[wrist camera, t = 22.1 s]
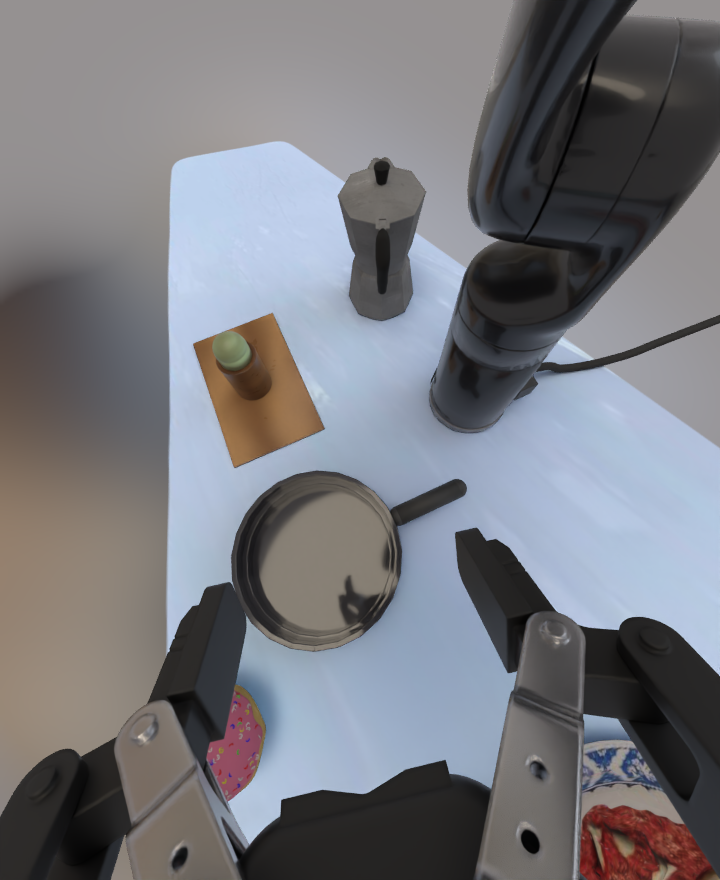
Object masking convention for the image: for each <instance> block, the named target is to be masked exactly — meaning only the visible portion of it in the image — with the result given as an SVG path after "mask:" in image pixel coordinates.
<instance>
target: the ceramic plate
mask: <svg viewBox="0 0 720 880" xmlns="http://www.w3.org/2000/svg"><path fill="white" fill-rule="evenodd" d="M580 873H581V874H582V875H583V876H584V877H585V878H586V879H587V880H720V879H719V877H718V876H717V874H716V872H715V871H714V869H713V868H712V866H711V865H710V863H709V861H708V860H707V858H706V857H705V855H704V854H703V852H702V850H701V849H700V847H699V846H698V844H697V843H696V841H695V839H694V838H693V836H692V835H691V833H690V832H689V830H688V828H687V827H686V825H685V824H684V822H683V821H682V819H681V817H680V816H679V814H678V813H677V811H676V810H675V808H674V806H673V805H672V803H671V802H670V800H669V799H668V797H667V795H666V794H665V792H664V791H663V789H662V788H661V786H660V784H659V783H658V781H657V780H656V778H655V776H654V775H653V773H652V772H651V770H650V769H649V767H648V765H647V764H646V762H645V761H644V759H643V758H642V756H641V754H640V753H639V751H638V750H637V748H636V747H635V745H634V743H633V742H632V741H626V740H602V741H597V742H591V743H587V744H584V752H583V783H582V813H581V844H580Z"/></svg>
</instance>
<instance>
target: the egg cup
mask: <svg viewBox="0 0 720 880" xmlns="http://www.w3.org/2000/svg"><path fill="white" fill-rule="evenodd" d="M212 349H213V353H214V356H215V357H216V365H217V367H218V369H219V370H220V371H221V373H222V374H223V375H224V376H225V378H226V379H227V380H228V382H229V383H230V384H231V385H232V387H233V388H234V389H235V390H236V392H237V393H238V394H239V396H241V397H242V398H243V399H246V400H258V399H260V398H262V397H264V396H265V395H266V394H267V393H268V392H269V390H270V388H271V385H272V380H271V377H270V375H269V373H268V371H267V369H266V368H265V366H264V364H263V362H262V360H261V358H260V357H259V355H258V353H257V351H256V349H255V348H254V346H253V345H252V344H251V343H249V342H247V341H246V340H245V339H244V338H243V337H242V336H241V335H240V334H238V333H236V332H233V331H225V332H222V333H220V334H218V335H217V336H216V337H215V339H214V341H213V344H212Z"/></svg>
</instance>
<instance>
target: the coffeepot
mask: <svg viewBox="0 0 720 880" xmlns="http://www.w3.org/2000/svg"><path fill="white" fill-rule="evenodd" d="M425 194H426V191H425V189H424V188H423V187H422V185H421V184H420V182H419V181H418V180H417V178H416V177H415V175H414V174H413V173H412V171H409V170H404V169H399V168H395V167H394V165H393V164H392V162H391V161H390V159H388V158H386V157H384V158H382V159H379V158H374V159H373V160H372V161H371V163H370V165H369V167H368V169H365V170H362V171H359V172H356V173H353V174H351V175H350V176H349V178H348V180H347V181H346V183H345V185H344V186H343V188H342V189H341V191H340V193H339V194H338V199H339V202H340V206H341V210H342V214H343V218H344V222H345V226H346V230H347V234H348V238H349V242H350V245H351V248H352V250H353V252H354V254H355V258H354V260H353V265H352V274H351V282H350V290H349V296H350V298H351V300H352V303H353V305H354V307H355V308H356V310H357V312H358V313H359V314H361V315H363V316H365V317H368V318H371V319H375V320H386V319H390V318H393V317H395V316H397V315H399V314H400V313H403V312H405V310H406V307H407V306H408V304H409V301H410V299H411V296H412V294H413V288H412V279H411V269H410V260H409V257H408V255H407V254H408V252H409V250H410V247H411V245H412V242H413V238H414V234H415V231H416V227H417V223H418V219H419V215H420V212H421V208H422V204H423V200H424V197H425Z"/></svg>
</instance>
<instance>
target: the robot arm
mask: <svg viewBox="0 0 720 880" xmlns="http://www.w3.org/2000/svg"><path fill="white" fill-rule="evenodd" d="M636 1H637V0H514V1H513V4H512V8H511V11H510V15H509V18H508V22H507V25H506V29H505V32H504V36H503V39H502V43H501V46H500V50H499V53H498V57H497V60H496V64H495V67H494V71H493V74H492V78H491V81H490V85H489V88H488V92H487V95H486V99H485V103H484V106H483V110H482V114H481V117H480V121H479V125H478V129H477V134H476V138H475V142H474V147H473V152H472V158H471V163H470V168H469V178H468V189H467V191H468V208H469V212H470V216H471V219H472V222H473V223H474V225H475V226H476V227H477V228H478V229H479V230H480V231H481V232H482V233H484V234H486V235H488V236H491V237H494V238H496V239H500V240H499V241H497V242H494V243H493V244H490V245H489V246H487V247H485V248H484V249H483V250H482V251H480V252H479V253H478V254H477V255H476V256H475V257H474V258H473V260H472V261H471V263H470V264H469V266H468V267H467V269H466V272H465V274H464V277H463V280H462V284H461V287H460V291H459V294H458V297H457V301H456V304H455V308H454V311H453V315H452V319H451V322H450V326H449V329H448V333H447V336H446V339H445V343H444V346H443V350H442V353H441V357H440V360H439V364H438V367H437V369H436V371H435V373H434V375H433V377H432V379H431V382H432V380H433V378H434V376H435V378H434V380H433V382H432V385H431V389H430V393H429V402H430V406H431V409H432V411H433V413H434V415H435V416H436V417H437V419H438V420H439V421H440V422H441V423H443V424H444V425H445V426H447V427H448V428H450V429H453V430H455V431H458V432H463V433H476V432H481V431H484V430H486V429H488V428H490V427H491V426H493V425H494V424H495V423H496V422H497V421H498V420H499V418H500V417H501V416H502V414H503V413H504V411H505V409H506V408H507V407H508V406H509V405H510V404H511V403H512V401H513V400H516V399H518V398H521V397H523V396H525V395H527V394H530V393H531V392H532V390H533V389H534V388H535V387H536V386H537V385H538V383H537V381H536V380H535V379H534V377H533V375H534V373H535V372H538V371H544V370H551V371H554V372H571V371H579V370H585V369H590V368H595V367H599V366H603V365H607V364H611V363H614V362H618V361H622V360H625V359H628V358H631V357H634V356H637V355H639V354H642V353H644V352H647V351H649V350H651V349H654V348H656V347H659V346H661V345H664V344H666V343H669V342H672V341H674V340H677V339H680V338H682V337H685V336H687V335H690V334H693V333H695V332H698V331H700V330H703V329H706V328H708V327H711V326H713V325H716V324H719V323H720V315H718V316H716V317H713V318H711V319H708V320H705V321H703V322H700V323H698V324H696V325H692V326H690V327H687V328H685V329H682V330H679V331H677V332H674V333H671V334H669V335H666V336H664V337H661V338H658V339H656V340H654V341H651V342H649V343H646V344H644V345H641V346H639V347H636V348H634V349H631V350H628V351H625V352H622V353H618V354H615V355H611V356H608V357H604V358H600V359H595V360H591V361H586V362H581V363H574V364H564V365H559V364H556V363H553V362H545V363H542V362H543V361H544V359H545V358H546V357H547V355H548V354H549V353H550V351H551V350H552V349H553V347H554V346H555V345H556V344H557V342H558V341H559V340H560V338H561V337H562V336H563V334H564V333H565V332H566V331H567V329H569V328H571V327H573V326H574V325H576V324H577V323H578V322H580V321H581V320H582V319H583V318H584V317H585V316H586V315H587V313H588V312H589V311H590V310H591V309H592V308H593V306H594V305H595V304H596V303H597V302H598V301H599V300H600V298H601V297H602V296H603V295H604V294H605V293H606V292H607V291H608V290H609V288H610V287H611V286H612V285H613V284H614V283H615V282H616V281H617V279H618V278H619V277H620V276H621V275H622V274H623V273H624V272H625V271H626V270H627V269H628V268H629V266H630V265H631V264H632V263H633V262H634V261H635V260H636V259H637V258H638V257H639V256H640V255H641V254H642V253H643V251H644V250H645V249H646V248H647V247H648V246H649V245H650V244H651V242H653V240H654V239H655V238H656V237H657V236H658V235H659V233H660V232H661V231H662V230H663V229H664V228H665V227H666V225H667V224H668V223H669V222H670V221H671V220H672V218H673V217H674V216H675V215H676V214H677V212H678V211H679V210H680V208H681V207H682V206H683V204H684V203H685V202H686V201H687V199H688V198H689V196H690V195H691V194H692V192H693V191H694V190H695V189H696V187H697V186H698V185H699V184H700V182H701V180H702V179H703V178H704V176H705V175H706V174H707V172H708V171H709V169H710V167H711V166H712V164H713V163H714V161H715V159H716V158H717V156H718V154H719V153H720V22H719V21H710V20H699V19H686V18H676V19H675V18H672V17H657V16H640V15H626V13H627V12H628V11H629V10H630V8H631V7H632V6H633V5H634V4H635V2H636ZM430 384H431V383H430ZM455 539H456V550H457V562H458V569H459V573H460V576H461V579H462V581H463V584H464V586H465V588H466V590H467V592H468V594H469V596H470V598H471V600H472V602H473V604H474V606H475V608H476V610H477V612H478V614H479V616H480V618H481V620H482V622H483V624H484V626H485V628H486V630H487V632H488V634H489V636H490V638H491V640H492V642H493V644H494V646H495V648H496V650H497V652H498V654H499V656H500V658H501V660H502V662H503V665H504V667H505V669H506V671H507V673H512V672H516V671H517V676H516V681H515V686H514V690H513V691H512V692H511V694H510V698H509V702H508V707H507V713H506V718H505V723H504V728H503V733H502V738H501V743H500V749H499V754H498V759H497V764H496V769H495V774H494V779H493V785H492V789H490V788H488V787H487V786H485V785H483V784H482V783H480V782H478V781H476V780H473V779H471V778H468V777H465V776H461V775H456V774H449V771H448V767H447V763H446V760H443V761H439V762H435V763H431V764H427V765H423V766H418V767H414V768H410V769H406V770H404V771H403V772H401V773H399V774H398V775H396V776H395V777H393V778H391V779H390V780H388V781H387V782H385V783H383V784H382V785H380V786H379V787H377V788H375V789H374V790H372V791H371V792H369V793H366V794H355V793H346V792H337V791H328V790H320V791H316V792H311V793H307V794H303V795H299V796H295V797H291V798H287V799H283V800H281V814H280V817H279V818H277V819H275V820H274V821H273V822H272V823H270V824H269V825H268V826H267V827H266V828H265V829H264V830H263V831H262V832H261V833H260V834H259V835H258V836H257V837H256V838H255V839H254V840H253V841H252V843H251V844H250V845H249V843H248V841H247V839H246V837H245V836H244V834H243V832H242V830H241V829H240V827H239V825H238V823H237V821H236V819H235V817H234V815H233V813H232V811H231V808H230V806H229V804H228V802H227V800H226V798H225V795H224V793H223V791H222V789H221V787H220V785H219V782H218V780H217V778H216V776H215V774H214V772H213V769H212V767H211V765H210V763H209V761H208V759H207V758H206V757H207V753H208V749H209V744H210V742H214V741H218V740H223V739H224V738H225V733H226V728H227V723H228V718H229V713H230V708H231V703H232V698H233V693H234V688H235V683H236V678H237V673H238V668H239V663H240V659H241V654H242V649H243V644H244V639H245V634H246V616H245V613H244V610H243V608H242V606H241V603H240V601H239V599H238V597H237V595H236V592H235V590H234V588H233V586H232V584H231V583H230V582H227V583H223V584H218V585H214V586H209V587H207V588H206V589H205V590H204V593H203V596H202V598H201V601H200V604H199V605H197V606H192V607H191V609H190V610H189V611H188V612H187V614H186V615H185V616H184V618H183V619H182V620H181V622H180V624H179V627H178V629H177V632H176V634H175V639H173V642H172V644H171V646H170V652H168V654H167V656H166V659H165V662H164V664H163V666H162V669H161V671H160V674H159V676H158V679H157V681H156V684H155V686H154V689H153V691H152V694H151V696H150V699H149V701H148V703H147V704H146V705H144V706H143V707H141V708H140V709H139V710H137V711H136V712H135V713H134V714H133V715H132V716H131V717H130V718H129V719H128V720H127V721H126V723H125V724H124V726H123V727H122V728H121V730H120V732H119V734H118V736H117V737H116V738H114V739H112V740H111V741H109V742H107V743H105V744H103V745H101V746H100V747H98V748H96V749H95V750H92V751H91V752H89V753H87V754H85V755H83V756H82V757H80V756H79V754H78V753H77V752H76V751H74V750H72V749H63V750H59V751H57V752H55V753H53V754H51V755H49V756H48V757H46V758H45V759H43V760H42V761H41V762H39V763H38V764H37V765H36V766H35V767H34V768H33V769H32V770H31V771H30V772H29V773H28V774H27V775H26V776H25V777H24V779H23V780H22V781H21V782H20V784H19V785H18V787H17V788H16V790H15V791H14V793H13V795H12V796H11V798H10V800H9V802H8V804H7V806H6V807H5V809H4V811H3V813H2V815H1V817H0V880H111V876H112V873H113V870H114V867H115V863H116V860H117V857H118V854H119V851H120V847H121V844H122V841H123V837H124V835H126V845H127V851H128V855H129V860H130V865H131V869H132V873H133V878H134V880H587V879H586V878H585V877H584V876H583V875H582V874H581V873H580V844H581V813H582V783H583V752H584V720H583V714H588V715H595V716H603V717H610V718H617V719H618V720H619V721H620V723H621V725H622V726H623V728H624V729H625V731H626V732H627V734H628V736H629V737H630V739H631V740H632V742H633V743H634V745H635V747H636V748H637V750H638V751H639V753H640V754H641V756H642V758H643V759H644V761H645V762H646V764H647V765H648V767H649V769H650V770H651V772H652V773H653V775H654V776H655V778H656V780H657V781H658V783H659V784H660V786H661V788H662V789H663V791H664V792H665V794H666V795H667V797H668V799H669V800H670V802H671V803H672V805H673V806H674V808H675V810H676V811H677V813H678V814H679V816H680V817H681V819H682V821H683V822H684V824H685V825H686V827H687V828H688V830H689V832H690V833H691V835H692V836H693V838H694V839H695V841H696V843H697V844H698V846H699V847H700V849H701V850H702V852H703V854H704V855H705V857H706V858H707V860H708V861H709V863H710V865H711V866H712V868H713V869H714V871H715V872H716V874H717V876H718V877H719V879H720V676H719V675H718V674H717V673H716V672H715V671H714V670H713V669H712V668H711V667H710V665H709V664H708V663H707V662H706V661H705V660H704V659H703V658H702V657H701V656H700V655H699V654H698V653H697V652H696V651H695V650H694V649H693V648H692V647H691V646H690V645H689V644H688V643H687V642H686V641H685V640H684V638H683V637H682V636H681V635H679V634H678V633H677V632H676V631H675V630H673V629H672V628H670V627H669V626H667V625H665V624H663V623H661V622H659V621H656V620H653V619H650V618H645V617H632V618H628V619H626V620H625V621H623V622H622V624H621V625H620V628H619V630H609V629H597V628H588V627H583V626H580V625H577V624H576V623H575V622H574V621H573V620H572V619H570V618H569V617H567V616H565V615H563V614H561V613H558V612H557V611H556V610H555V609H554V608H553V607H552V605H551V604H550V603H549V601H548V600H547V599H546V597H545V596H544V594H543V593H542V592H541V590H540V589H539V588H538V586H537V585H536V584H535V582H534V581H533V580H532V578H531V577H530V575H529V574H528V573H527V572H526V571H525V569H524V567H523V566H522V565H521V563H520V562H518V559H517V558H516V556H515V555H514V554H513V552H512V551H511V550H510V548H509V547H507V546H506V545H504V544H503V543H501V542H500V541H498V540H497V539H494V540H489V541H486V540H485V538H484V537H483V535H482V534H481V532H480V531H479V529H478V528H472V529H468V530H463V531H459V532H456V533H455Z"/></svg>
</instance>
